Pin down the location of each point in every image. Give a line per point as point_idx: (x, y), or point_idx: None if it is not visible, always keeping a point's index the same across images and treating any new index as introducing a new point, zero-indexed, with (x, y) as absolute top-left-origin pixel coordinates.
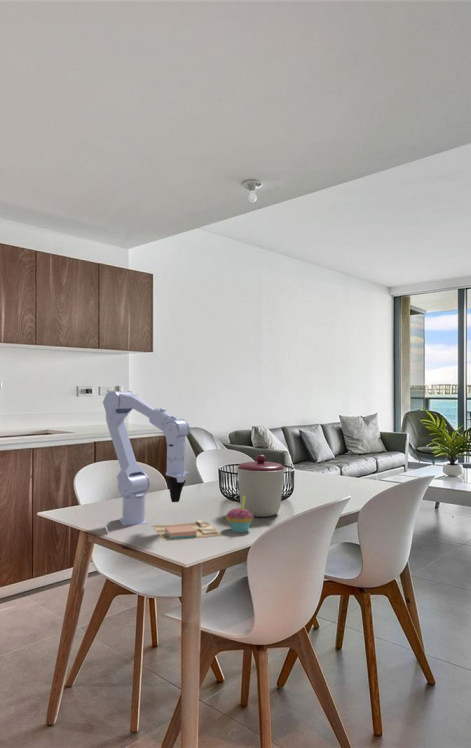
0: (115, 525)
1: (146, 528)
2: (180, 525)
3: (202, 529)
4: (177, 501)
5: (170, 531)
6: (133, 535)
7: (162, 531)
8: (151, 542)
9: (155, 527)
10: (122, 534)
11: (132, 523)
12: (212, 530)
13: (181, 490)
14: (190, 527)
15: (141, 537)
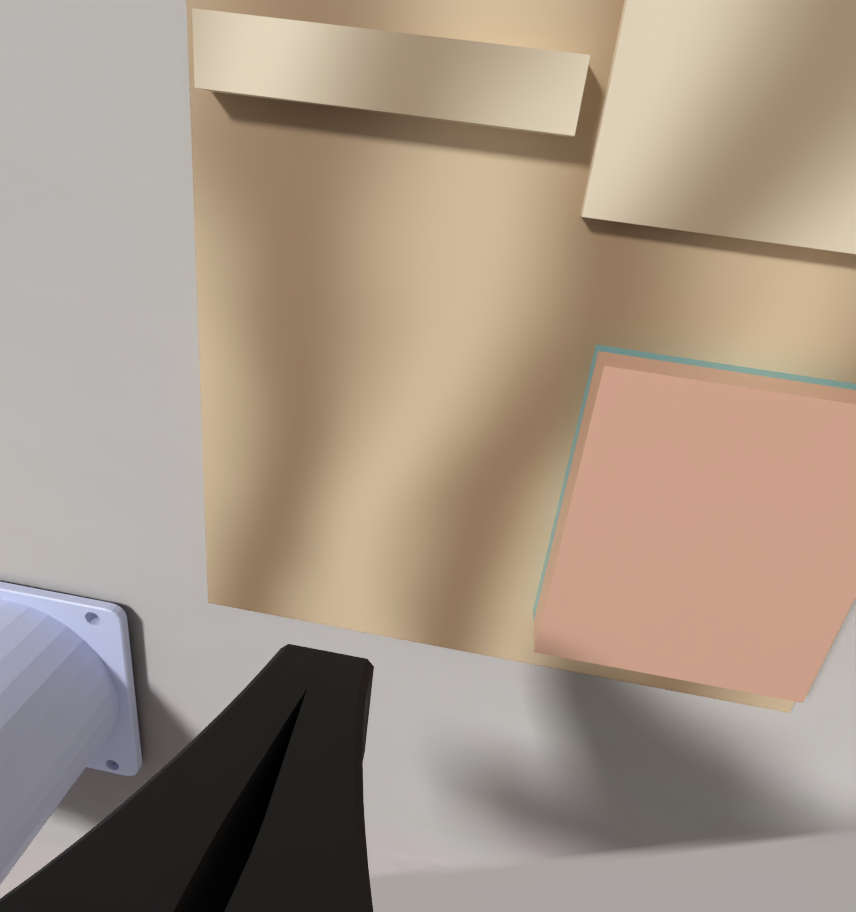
0: (89, 785)
1: (244, 646)
2: (292, 354)
3: (691, 196)
4: (368, 690)
5: (746, 676)
6: (428, 790)
7: (465, 608)
8: (708, 765)
9: (289, 605)
10: (366, 831)
11: (115, 718)
12: (843, 62)
13: (367, 909)
14: (720, 417)
15: (515, 769)
